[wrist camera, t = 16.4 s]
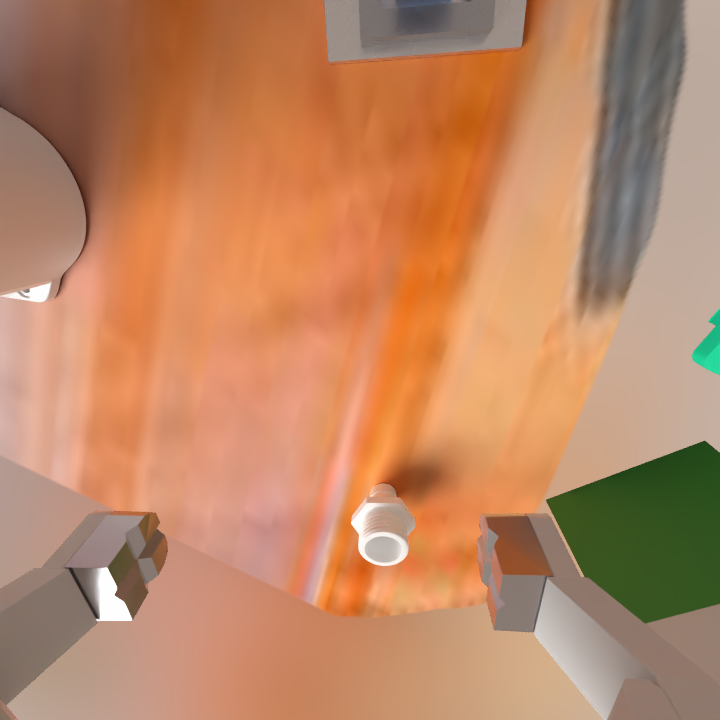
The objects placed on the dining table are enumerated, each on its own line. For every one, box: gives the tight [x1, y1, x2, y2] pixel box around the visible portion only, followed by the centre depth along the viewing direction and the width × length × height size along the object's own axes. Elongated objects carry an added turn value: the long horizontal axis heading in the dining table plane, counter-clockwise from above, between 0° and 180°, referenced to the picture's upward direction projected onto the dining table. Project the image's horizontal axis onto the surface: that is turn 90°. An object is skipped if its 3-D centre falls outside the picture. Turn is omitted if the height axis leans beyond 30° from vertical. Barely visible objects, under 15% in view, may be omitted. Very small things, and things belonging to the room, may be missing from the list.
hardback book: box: [546, 441, 720, 687], centre depth 34 cm, size 18×7×24 cm, turn 122°
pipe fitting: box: [351, 483, 416, 566], centre depth 44 cm, size 6×7×8 cm
